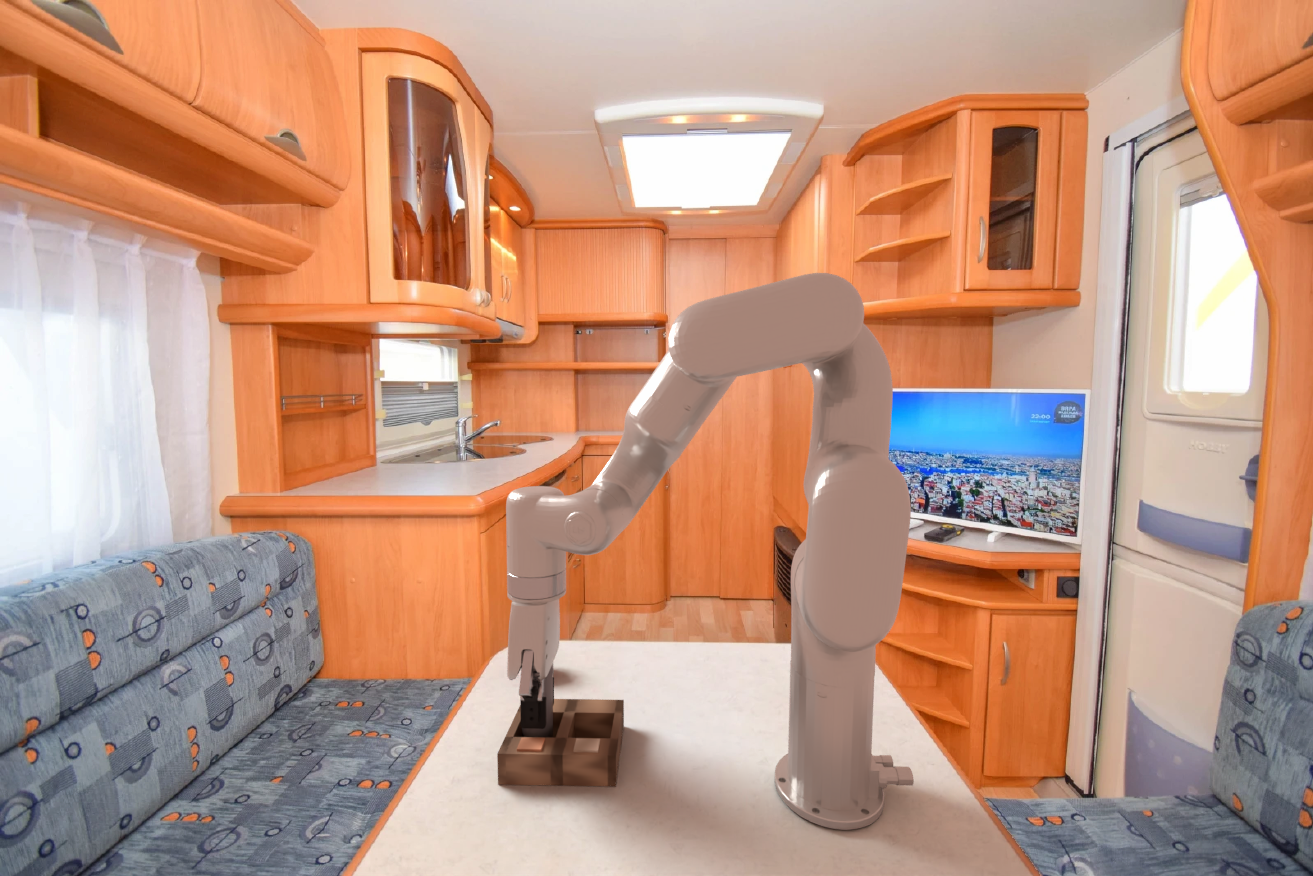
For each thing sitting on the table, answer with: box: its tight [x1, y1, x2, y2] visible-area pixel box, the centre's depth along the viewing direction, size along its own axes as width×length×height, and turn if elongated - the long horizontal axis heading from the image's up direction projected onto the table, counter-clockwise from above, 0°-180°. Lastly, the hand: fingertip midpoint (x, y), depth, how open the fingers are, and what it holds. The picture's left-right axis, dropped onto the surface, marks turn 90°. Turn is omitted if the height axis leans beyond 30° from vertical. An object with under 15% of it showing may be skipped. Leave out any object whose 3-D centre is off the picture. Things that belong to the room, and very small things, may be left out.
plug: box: [522, 663, 554, 738], centre depth 72 cm, size 4×4×10 cm
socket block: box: [496, 698, 625, 788], centre depth 72 cm, size 14×12×4 cm
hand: (538, 715), depth 72 cm, fingers closed on plug, 4 cm apart
